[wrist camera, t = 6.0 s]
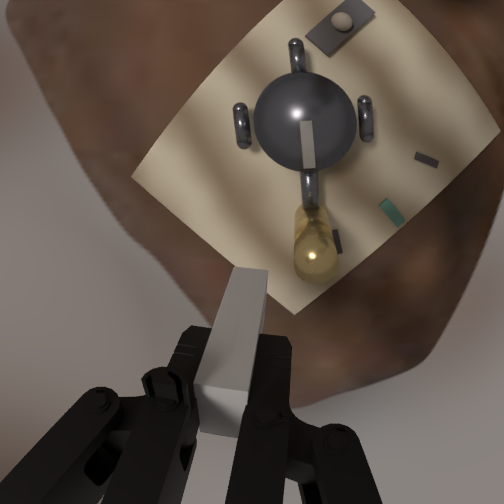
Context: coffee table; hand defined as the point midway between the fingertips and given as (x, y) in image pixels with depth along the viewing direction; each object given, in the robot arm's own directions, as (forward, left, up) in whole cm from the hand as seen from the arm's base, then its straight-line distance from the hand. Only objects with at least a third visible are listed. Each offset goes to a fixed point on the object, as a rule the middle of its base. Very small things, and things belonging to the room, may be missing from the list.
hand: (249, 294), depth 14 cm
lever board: (-7, -1, -13) cm, 14 cm away
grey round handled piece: (-6, -2, -10) cm, 12 cm away
